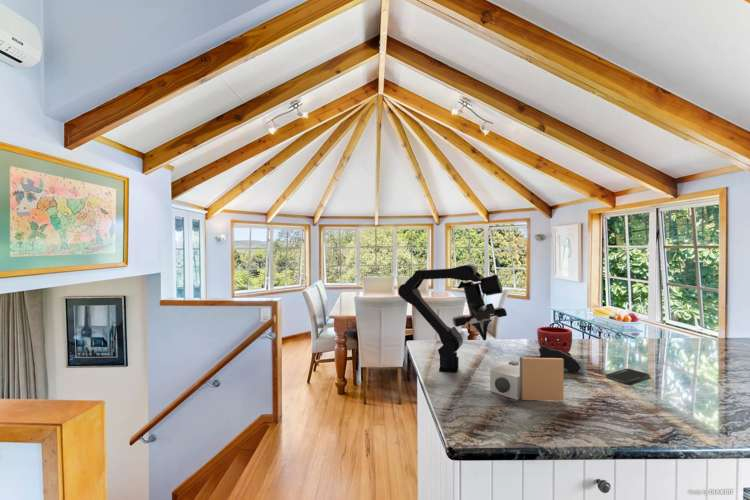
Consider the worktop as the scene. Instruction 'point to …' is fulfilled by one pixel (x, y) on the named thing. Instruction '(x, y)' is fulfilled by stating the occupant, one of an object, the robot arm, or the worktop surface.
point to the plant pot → (555, 338)
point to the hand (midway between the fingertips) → (484, 340)
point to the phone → (627, 376)
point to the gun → (553, 353)
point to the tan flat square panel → (541, 378)
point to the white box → (506, 379)
